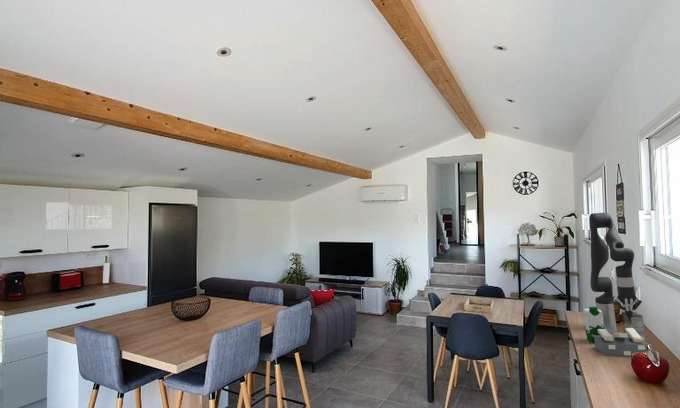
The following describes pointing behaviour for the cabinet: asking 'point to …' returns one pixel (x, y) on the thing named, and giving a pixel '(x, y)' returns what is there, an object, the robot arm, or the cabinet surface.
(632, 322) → the coffee box
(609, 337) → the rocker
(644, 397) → the cabinet surface
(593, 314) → the milk carton
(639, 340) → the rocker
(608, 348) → the switch unit
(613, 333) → the block
